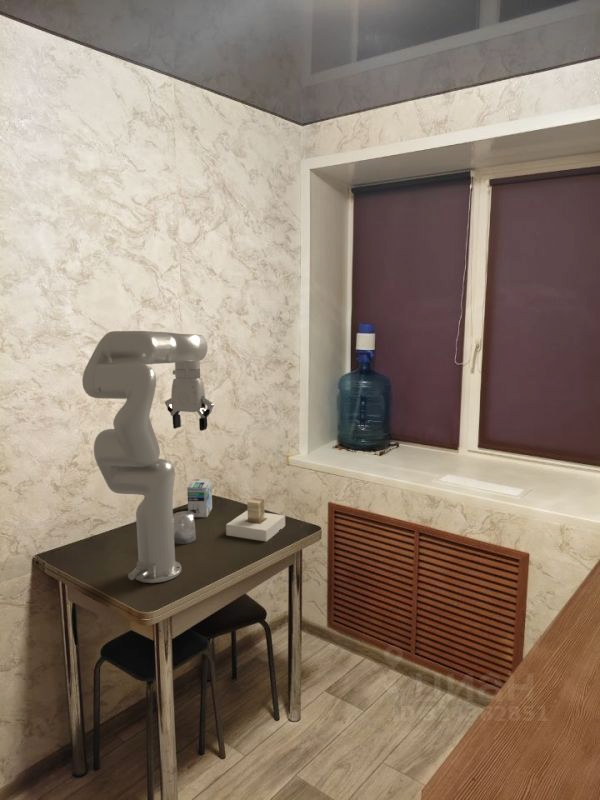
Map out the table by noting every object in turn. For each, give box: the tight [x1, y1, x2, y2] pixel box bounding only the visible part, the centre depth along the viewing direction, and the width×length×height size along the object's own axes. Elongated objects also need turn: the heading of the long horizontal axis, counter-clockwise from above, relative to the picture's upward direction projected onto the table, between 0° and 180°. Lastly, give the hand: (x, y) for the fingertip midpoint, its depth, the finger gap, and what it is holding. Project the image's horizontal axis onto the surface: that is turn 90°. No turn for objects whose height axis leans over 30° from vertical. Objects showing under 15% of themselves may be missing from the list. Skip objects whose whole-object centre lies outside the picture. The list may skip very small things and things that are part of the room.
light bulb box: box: [186, 478, 213, 518], centre depth 203 cm, size 11×7×11 cm, turn 179°
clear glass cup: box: [173, 510, 197, 545], centre depth 178 cm, size 7×7×8 cm
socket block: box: [225, 509, 286, 542], centre depth 186 cm, size 14×14×4 cm
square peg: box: [246, 497, 266, 524], centre depth 185 cm, size 4×4×10 cm
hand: (190, 428), depth 182 cm, fingers open, 9 cm apart
